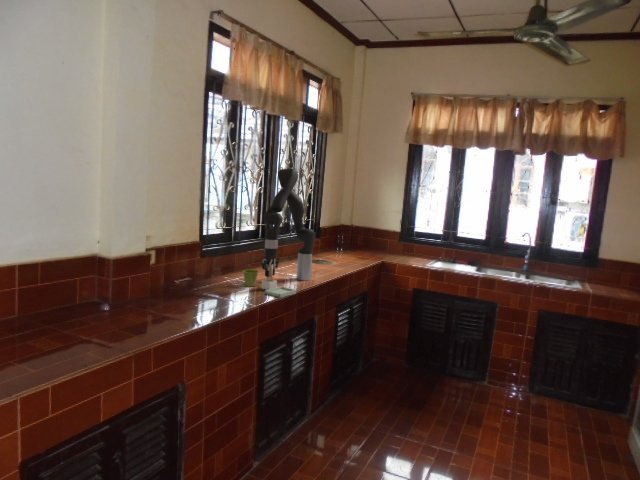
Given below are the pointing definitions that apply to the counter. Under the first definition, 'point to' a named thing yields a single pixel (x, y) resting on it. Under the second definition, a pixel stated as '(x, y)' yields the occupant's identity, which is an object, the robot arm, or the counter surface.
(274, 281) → the white open box
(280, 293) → the tray
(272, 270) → the dowel
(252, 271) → the plant pot
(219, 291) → the counter surface
